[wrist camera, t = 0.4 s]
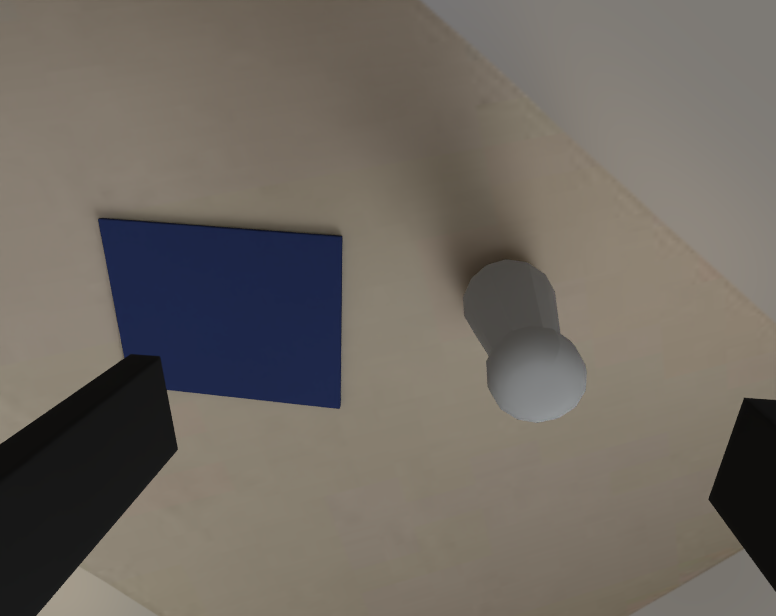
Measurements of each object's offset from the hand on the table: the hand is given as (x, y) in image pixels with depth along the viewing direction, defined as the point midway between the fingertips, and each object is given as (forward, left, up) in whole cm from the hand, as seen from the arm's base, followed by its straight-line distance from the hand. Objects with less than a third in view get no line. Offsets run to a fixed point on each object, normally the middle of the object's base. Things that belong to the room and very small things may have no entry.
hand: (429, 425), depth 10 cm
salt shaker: (+4, +5, -22) cm, 22 cm away
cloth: (+7, -16, -21) cm, 28 cm away
